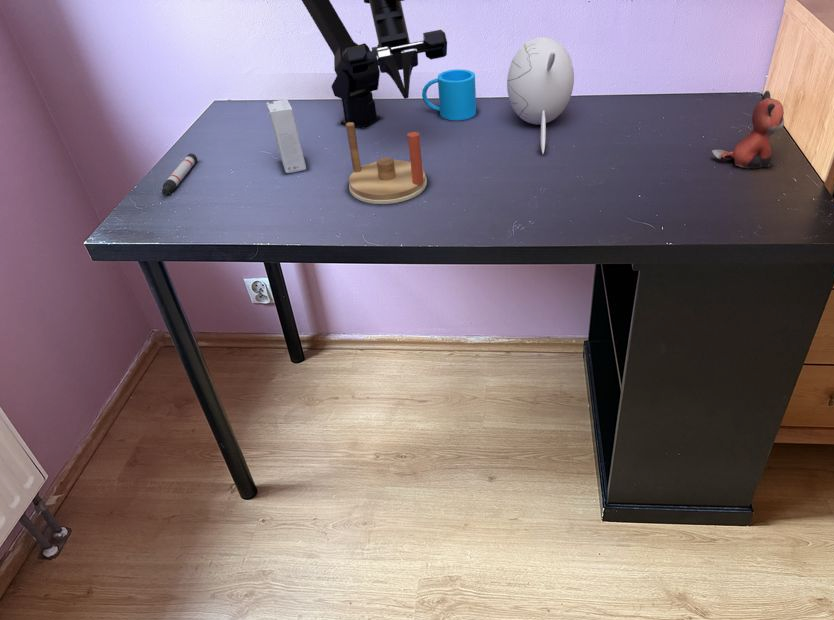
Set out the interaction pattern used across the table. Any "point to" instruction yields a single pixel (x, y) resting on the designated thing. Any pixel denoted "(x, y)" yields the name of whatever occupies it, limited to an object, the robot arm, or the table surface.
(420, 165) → the wooden peg board
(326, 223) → the table surface
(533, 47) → the cracked white egg
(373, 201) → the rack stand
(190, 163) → the marker
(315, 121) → the table surface
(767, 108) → the stuffed fox
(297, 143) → the cosmetic box
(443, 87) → the mug
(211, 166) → the table surface
